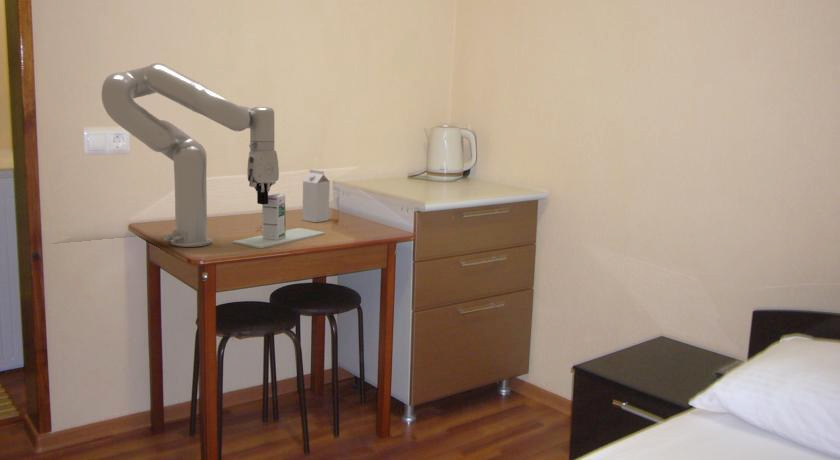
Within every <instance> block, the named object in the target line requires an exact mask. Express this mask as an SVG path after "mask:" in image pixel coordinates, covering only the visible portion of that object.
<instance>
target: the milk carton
mask: <svg viewBox="0 0 840 460" xmlns="http://www.w3.org/2000/svg"><path fill="white" fill-rule="evenodd" d="M324 173H325V172H324V171H322V170H313V169H309V173H308V174H307V175H306V177H305V178H304V179H303V181H302V220H303V221H306V222H312V223H321V222H327V221H329V220H330V191H331V190H330V187H331V186H330V185H331V183H330V182H331V181H330V180H329V179H328V178H327V176H325V174H324Z"/></svg>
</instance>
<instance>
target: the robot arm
mask: <svg viewBox="0 0 840 460" xmlns="http://www.w3.org/2000/svg"><path fill="white" fill-rule="evenodd" d="M154 94H159V95H160V96H163V97H164V98H167V99H169V100H171V101H173V102H175V103H177V104H179V105H181V106H183V107H184V108H186V109H188V110H191V111H192V112H194V113H196V114H200V115H202V116H204V117H206V118H208V119H209V120H212V121H213V122H214V123H217V124H219V125H222V126H224V127H225V128H227V129H229V130H231V131H234V132H242V131H244V130H246V129H249V136H250V138H249V140H250V142H249V145H248V146H249V149H250V150H249V152H248V159H247V168H246V169H247V174H246V176H247V181H248V182H249V185H248V187H251V188H254V189H255V192H256V194H257V195H256V196H257V198H256V199H257V204H259V205H262V204H263V205H264V204H268V194H269V192H270V189H271V187H272V186H273V185H275V184H277V183H276V182H277V181H279V175H280V173H279V172H280V171H279V170H280V167H279V159H278V153H277V150H275V111H274V109H273V108H272V107H269V106H268V107H267V106H255V107H248V106H243V105H238V104H236V103H234V102H232V101H230V100H228V99H226V98H224V97H222V96H220V95H218V93H217V94H216V93H215V92H213V91H212V90H210V89H209V88H208V87H207V86H206V85H204V84H202V83H200V82H198V81H196V80H194V79H192V78H191V77H189V76H186V75H184V74H182V73H181V72H178V71H177V70H175V69H173V68H171V67H169V66H167V65H166V64H164V63H159V62H154V63H151V64H150V65H148V66H144V67H140V68H136V69H132V70H131V69H130V70H126V71H122V72H114V73H111V74H109V75H108V76H107V77H106V78H105V80H104V81H103V83H102V86H101V102H102V106H103V108H104V109H105V112H106V113H107V115H108V117H110V119H111V120H112V121H114V122H115V123H116V124H117V125H118V126H120V127H121V128H122V129H124V130H125V131H127V132H128V133H129V134H130V135H132V136H133V137H134V138H135V139H137V140H139V141H140V142H142V143H143V144H144V145H146V147H148V148H149V149H151V150H152V151H153V152H157V153H160V154H162V155H164V156H166V157H167V158H169V160H171V161H172V162H173V172H174V175H173V177H174V178H173V179H174V207H175V208H174V211H175V214H174V219H175V229H172V232H171V233H169V234H164V235H163V237H162V239H163V241H164V242H169V241H170V244H171V245H172V246H175V247H181V248H183V247H184V248H186V247H187V248H196V247H197V248H198V247H206V246H209V245H212V243H213V239H212V237H209V236H208V219H207V218H208V217H207V216H208V213H207V212H208V211H207V210H208V209H207V207H208V206H207V203H208V202H207V196H208V195H207V165H208V164H207V161H208V160H207V151H206V149H205V148H204V146H203V145H202V143H199V141H197V140H195V139H194V138H193V137H191V136H190V135H189V134H187V133H186V132H185V131H183V130H181V129H180V128H179V127H177V126H176V125H174V124H173V123H171V122H170V121H167V120H163V119H159V118H158V117H156V116H155V115H154V114H152V113H150V112H149V111H148V110H147V109H146V108H144V107H142V106H141V105H140V104H138V103H137V102H136V101H135V100H134V99H137V98H141V97H145V96H148V95H149V96H150V95H154Z"/></svg>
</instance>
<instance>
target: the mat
mask: <svg viewBox="0 0 840 460" xmlns="http://www.w3.org/2000/svg"><path fill="white" fill-rule="evenodd" d="M285 233H286V237H284V238H281V239H279V240H270V239H263V234H262V235H257V236H252V237H247V238H243V239H238V240H237V239H236V240H232V244H235V245H240V246H246V247H250V248H255V249H265V247H266V248H270V247H274V246H278V245H282V244H287V243H292V242H297V241H300V240H305V239H310V238H314V237H318V236H323V235H325V234H326V232H325V231H318V230H313V229H307V228H301V227H297V228H296V227H295V228H291V229H285Z"/></svg>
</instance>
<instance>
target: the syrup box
mask: <svg viewBox="0 0 840 460" xmlns="http://www.w3.org/2000/svg"><path fill="white" fill-rule="evenodd" d="M261 205H262V206H261V207H262V210H261V211H262V217H261V219H262V235H263V239H270V240H279V239H281V238H284V237H286V233H285V230H286V195H285V194H284V193H268V204H264V205H263V204H261Z"/></svg>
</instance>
